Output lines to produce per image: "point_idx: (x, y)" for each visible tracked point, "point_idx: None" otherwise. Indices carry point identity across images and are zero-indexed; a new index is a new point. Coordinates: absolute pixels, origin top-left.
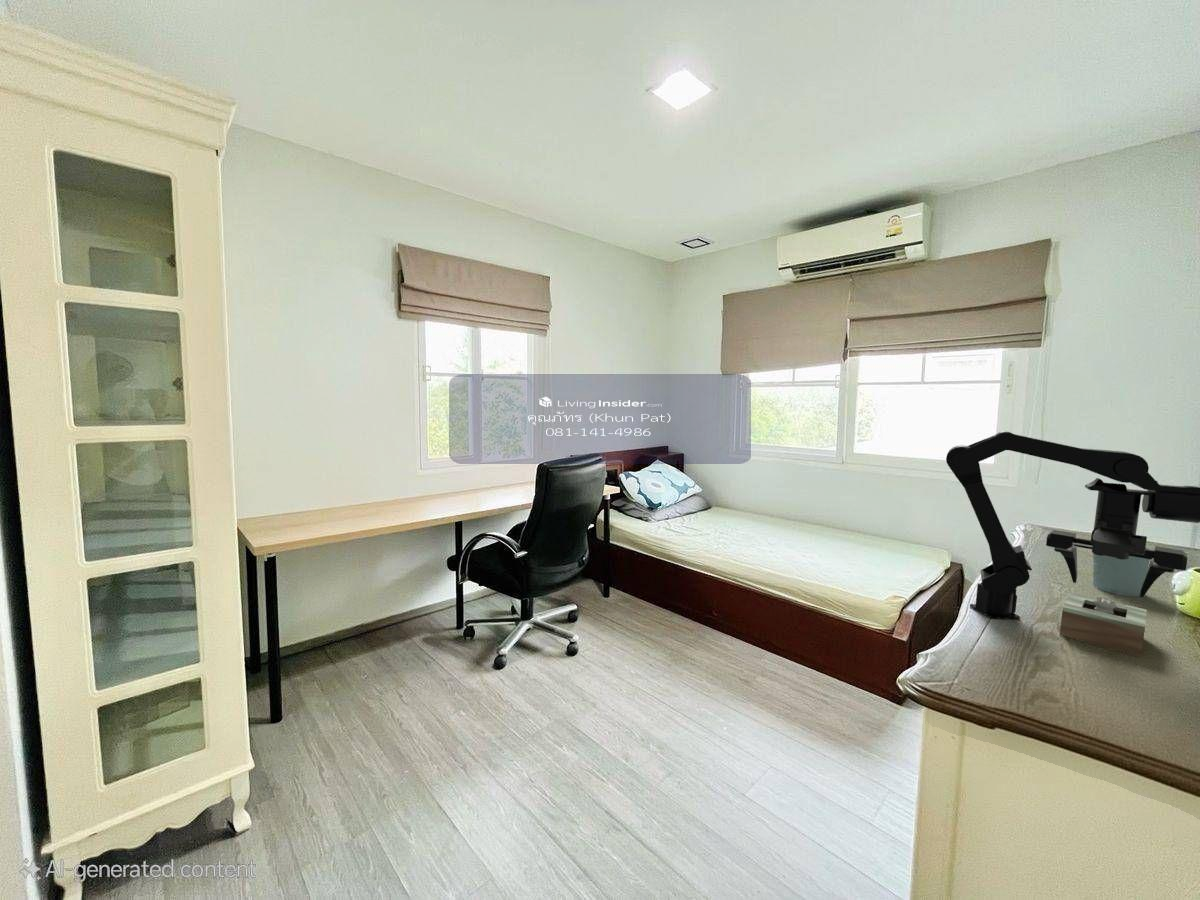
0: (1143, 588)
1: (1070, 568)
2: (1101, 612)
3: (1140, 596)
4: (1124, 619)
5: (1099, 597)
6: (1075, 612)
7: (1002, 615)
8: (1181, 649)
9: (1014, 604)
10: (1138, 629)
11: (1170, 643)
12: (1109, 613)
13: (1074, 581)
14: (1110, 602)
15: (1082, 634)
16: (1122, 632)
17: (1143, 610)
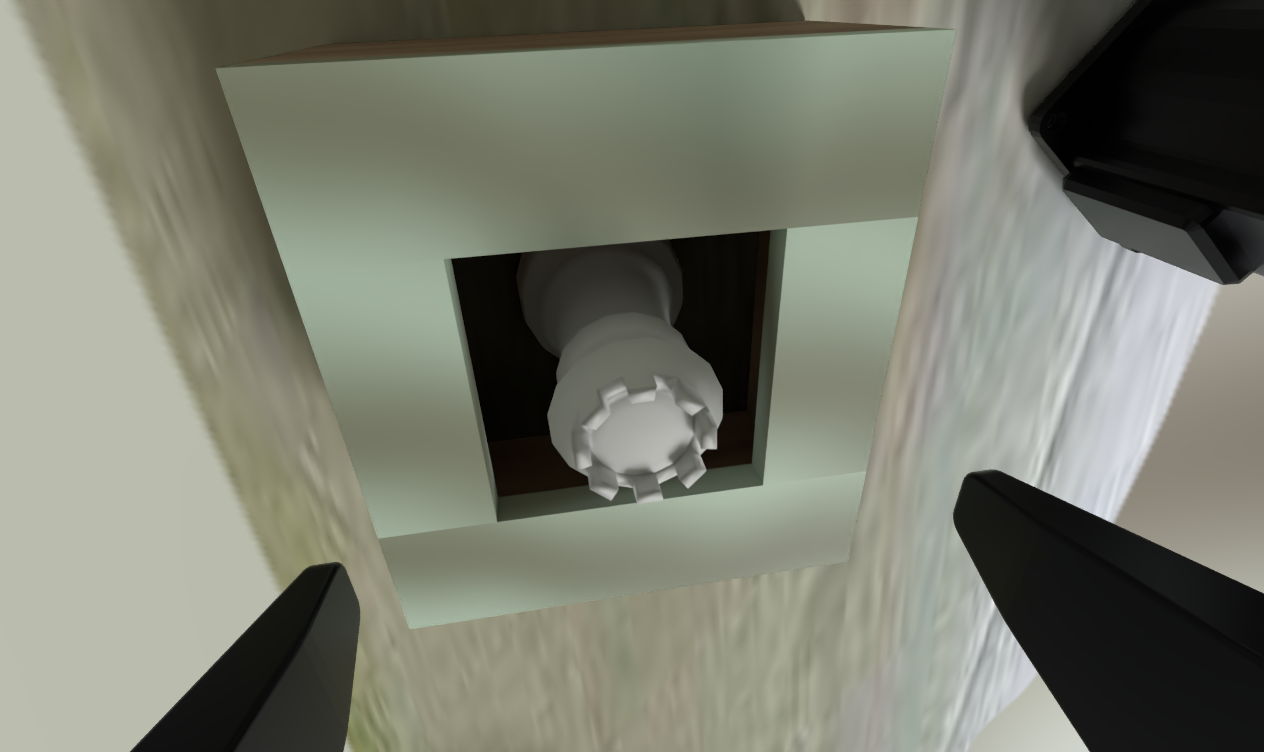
0: (251, 681)
1: (1252, 602)
2: (633, 220)
3: (332, 566)
4: (435, 175)
5: (694, 463)
6: (830, 34)
7: (1167, 10)
8: (264, 468)
9: (1141, 167)
10: (289, 60)
11: (329, 510)
12: (581, 331)
13: (996, 478)
14: (598, 399)
15: (689, 29)
16: (430, 49)
17: (416, 597)
